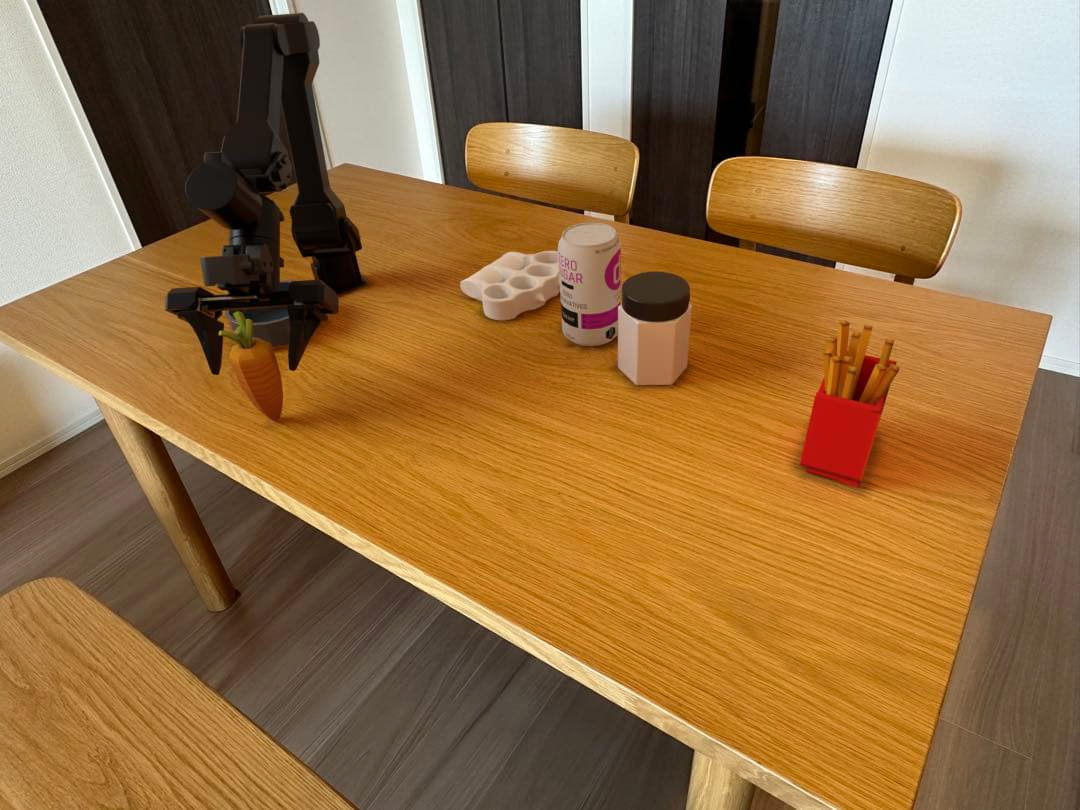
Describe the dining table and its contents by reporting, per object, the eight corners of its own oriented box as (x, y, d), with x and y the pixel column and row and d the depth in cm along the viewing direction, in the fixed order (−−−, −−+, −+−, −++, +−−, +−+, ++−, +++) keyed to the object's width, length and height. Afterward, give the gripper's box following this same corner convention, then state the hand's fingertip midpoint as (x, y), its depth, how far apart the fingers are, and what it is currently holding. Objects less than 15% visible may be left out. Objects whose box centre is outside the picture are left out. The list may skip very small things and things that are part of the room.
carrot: (285, 434, 85) (245, 330, 75) (248, 431, 86) (204, 327, 76) (303, 409, 88) (268, 307, 79) (268, 406, 89) (229, 305, 80)
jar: (698, 375, 89) (706, 292, 81) (644, 395, 86) (647, 311, 79) (659, 343, 95) (663, 263, 88) (608, 360, 93) (607, 280, 85)
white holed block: (518, 258, 118) (590, 278, 111) (447, 304, 108) (521, 330, 100) (517, 240, 116) (589, 259, 109) (444, 285, 105) (519, 309, 98)
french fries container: (792, 469, 74) (815, 362, 66) (812, 420, 80) (835, 316, 72) (862, 490, 71) (896, 380, 63) (877, 437, 77) (910, 330, 69)
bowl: (303, 297, 113) (296, 271, 110) (338, 327, 104) (331, 301, 101) (223, 326, 107) (212, 301, 104) (252, 362, 98) (242, 335, 95)
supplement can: (628, 323, 100) (629, 224, 91) (608, 353, 94) (607, 251, 85) (576, 313, 103) (572, 217, 94) (553, 342, 97) (547, 243, 88)
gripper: (137, 223, 76) (133, 364, 74) (305, 213, 75) (305, 354, 73) (192, 258, 87) (190, 381, 85) (339, 249, 86) (340, 372, 84)
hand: (253, 372), depth 81 cm, fingers open, 9 cm apart
